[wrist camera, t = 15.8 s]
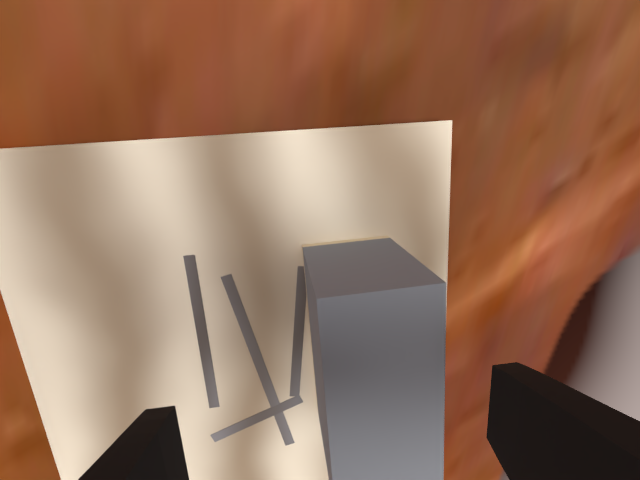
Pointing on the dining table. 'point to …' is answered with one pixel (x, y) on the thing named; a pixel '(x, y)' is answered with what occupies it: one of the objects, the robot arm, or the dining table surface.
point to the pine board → (200, 280)
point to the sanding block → (377, 359)
